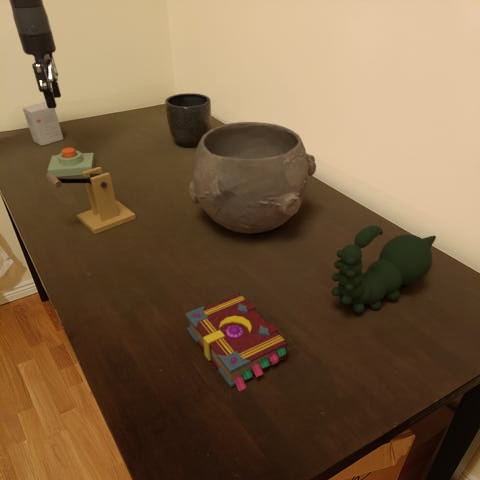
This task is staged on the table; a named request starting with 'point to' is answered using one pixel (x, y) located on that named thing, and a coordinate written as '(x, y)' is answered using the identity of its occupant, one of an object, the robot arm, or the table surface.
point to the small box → (43, 124)
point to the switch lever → (68, 179)
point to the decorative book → (236, 339)
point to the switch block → (71, 164)
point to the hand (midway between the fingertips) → (54, 102)
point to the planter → (188, 117)
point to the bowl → (250, 175)
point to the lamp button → (68, 152)
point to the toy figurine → (380, 268)
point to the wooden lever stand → (103, 204)
